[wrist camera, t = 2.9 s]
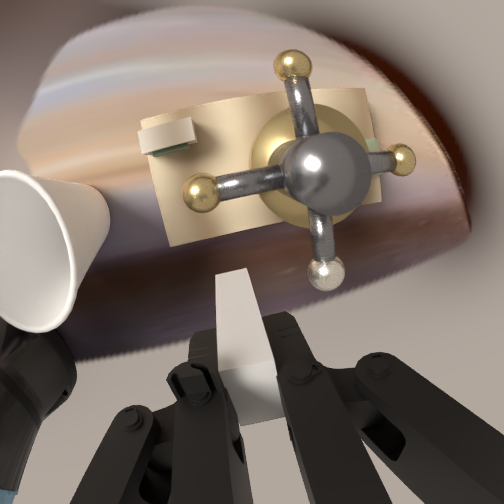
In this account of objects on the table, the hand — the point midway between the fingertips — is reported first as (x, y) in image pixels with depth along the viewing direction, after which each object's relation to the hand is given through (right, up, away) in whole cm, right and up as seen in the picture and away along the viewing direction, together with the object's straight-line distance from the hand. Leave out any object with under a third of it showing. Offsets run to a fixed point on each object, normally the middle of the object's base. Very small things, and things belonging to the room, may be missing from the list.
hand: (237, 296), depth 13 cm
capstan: (+3, +8, +7) cm, 11 cm away
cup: (-14, +5, +8) cm, 17 cm away
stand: (+2, +10, +9) cm, 13 cm away
